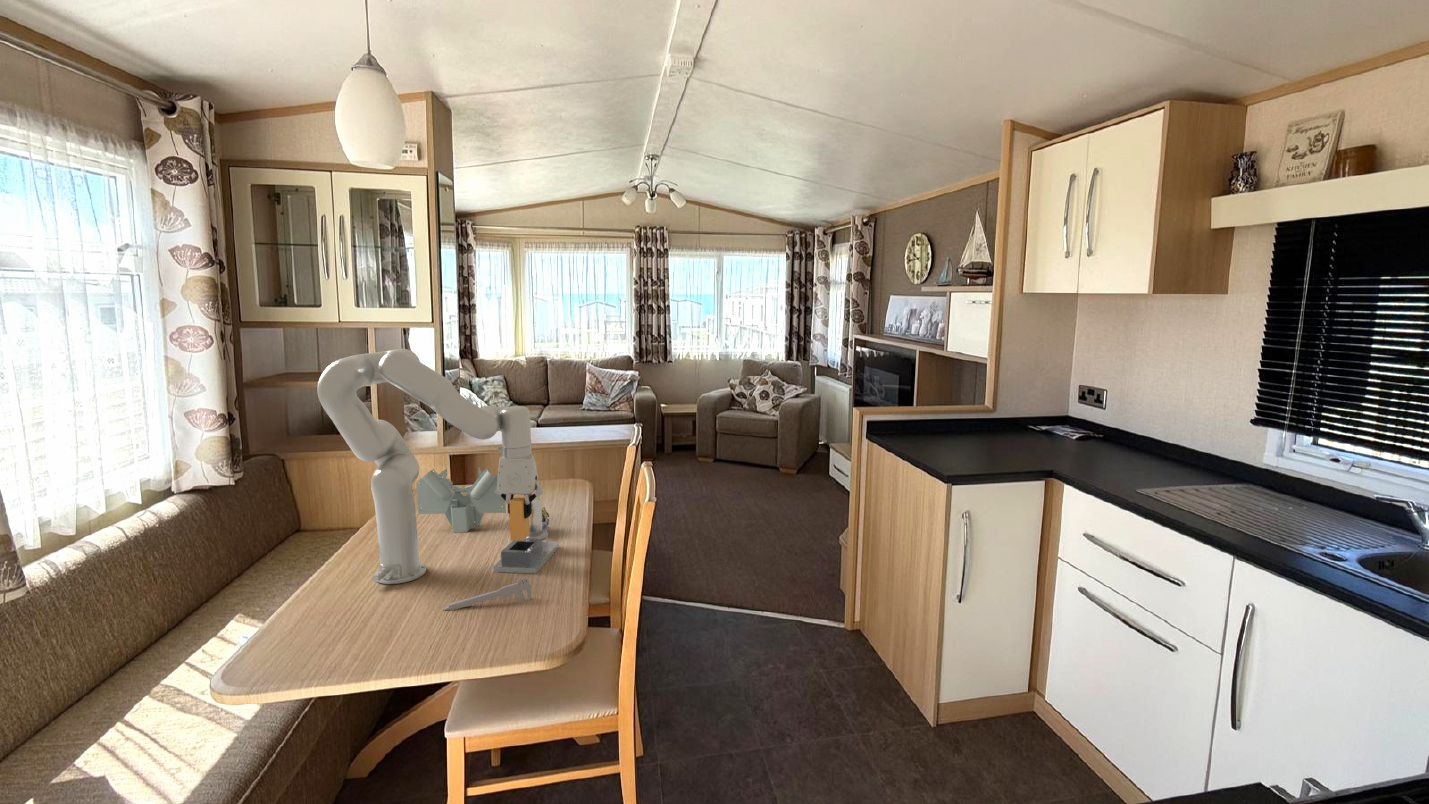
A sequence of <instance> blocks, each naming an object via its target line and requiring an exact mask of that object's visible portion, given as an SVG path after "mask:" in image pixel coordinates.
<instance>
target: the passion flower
mask: <svg viewBox="0 0 1429 804" xmlns="http://www.w3.org/2000/svg"><path fill="white" fill-rule="evenodd" d="M549 524H550V514H549V512H548V511H547V510H546V507H545V506H544V507H542V529H543V530H546V531H547V529H548V528H550V525H549Z"/></svg>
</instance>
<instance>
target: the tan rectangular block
mask: <svg viewBox="0 0 1429 804" xmlns="http://www.w3.org/2000/svg"><path fill="white" fill-rule="evenodd" d="M524 504H525V499H524V495H523V496H522V495H521V496H518V495H517V496H514V498H513V499H512V500H510V515H509V528H510V529H509V532H510V535H509V536H510V541H513V540H520V541H523V540H524V539H526V538H527V537H528V536H529V535H530V525H529V517H528V518H524Z"/></svg>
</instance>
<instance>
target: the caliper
mask: <svg viewBox="0 0 1429 804" xmlns="http://www.w3.org/2000/svg"><path fill="white" fill-rule="evenodd" d="M518 580H519V581H518V582H517V581H516V582H514V583H511V584H508V585H505V586H504V585H503V586H500V587H499V589H496V590H492V591H489V592H485V593H482V594H479V595H475V596H472V597H468V598H464V599H461V600H458V601H455V602H451V603H449V604H448V606H445V607H444V608H443V612H444V611H448V610H449V611H451V610H452V611H453V610H458V609H461V608H465V607H469V606H472V605H475V604H479V603H482V602H486V601H488V600H489V601H490V600H493V599H497V598H499V597H502V599H503V600H504V599H506V598H509V597H512V596H513V595H514V594H516V595H517V597H518V598H519V599H520V601H522V602H524V601H525V597H524V594H523V591H522V590H526V591H525V592H526V593H527V596H528V600H529V601H530V600H532V585H531V583H530V581H529V579H526V577H525V576H523V579H522V578H521V577H519V578H518Z"/></svg>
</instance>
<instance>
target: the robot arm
mask: <svg viewBox="0 0 1429 804" xmlns="http://www.w3.org/2000/svg"><path fill="white" fill-rule="evenodd" d="M386 383H389V384H391V385H393V386H394V387H396V388H398V389H399V390H400V391H402V392H404V393H406V394H407V395H410V396H411V397H413V398H414V399H416V400H418V401H419V402H421V403H422V404H425V405H426V406H427V407H429V408H430V409H432V411H433V412H434V413H436V414H437V415H438V416H439V417H441V418H442V419H444V420H445V421H446V422H447V423H449V424H450V425H451V426H453V427H455V428H457V429H458V430H459V431H461V432H463V433H466V434H467V435H469V436H471V437H473V438H475V439H477V440H481V441H482V440H488V439H491V438H493V437H494V436H495V435H496V434H497V432H501V442H502V443H501V444H502V445H501V446H499V447H497V452H498V453H501V455H502V456H500V457H499V459H498V460H499V461H498V467H497V468H498V469H497V476H498V486H497V488H496V489H495V493H496V494H498V495H500V496H501V497H502V498H503V499H504V500H505V504H507V514H508V515H509V516H510V500H512V499H513V498H515V495H523V496H524V499H525V504H524V518H528V517H529V516H530V515H531V513H532V504H531V502H532V501H533V500H534V499H535V498H538V497H540V496H541V495H542V494H544V490H543V488H542V487H541V485H540V483H539V474H538V468H537V462H536V459H535V456H534V455H532V454H533V453H532V437H531V436H532V435H531V433H532V432H531V414H530V413H531V411H530V409H529V408H528V407H526V406H524V405H523V406H522V405H512V406H495V405H483V406H480V407H479V406H478V405H476V404H475V403H472V402H471V401H470V400H468V399H467V398H465V397H464V396H463V395H462V394H460V392H458V390H456V388H455V386H454V385H453V384H452V381H450V380H449V379H448V378H447V377H446V376H444V375H442V374H441V373H438V372H437V371H436V370H434V369H432V368H430V367H429V366H428V365H426V364H424V363H422V362H421V361H420V359H419V356H418V355H417V354H416V353H415V352H413V351H412V350H409V349H406V348H396V349H391V350H390V349H389V350H384V351H376V352H375V351H374V352H368V353H367V352H366V353H361V354H360V353H359V354H354V355H351V356H347V357H343V358H340V359H337V360H335V361H333V362H331V363H330V364H329V365H328V366H326V368H325V369H324V370H323V372H322V373H321V375H320V377H319V379H318V382H317V388H316V389H317V397H318V400H319V403H320V404H321V407H322V408H323V410H324V411H325V413H326V415H328V417H329V418H330V420H331V421H332V423H333V425H334V426H335V428H336V429H337V431H338V432H339V434H340V435H341V437H342V438H343V440H344V441H345V443H346V445H348V447H349V449H350V450H351V451H352V453H353V454H354V456H355V457H357V459H359V460H360V461H362V462H366V463H367V462H368V463H372V462H374V463H375V464H376V466H377V467H376V469H375V470H374V471H373V474H372V476H371V480H370V488H371V494H372V499H373V504H374V510H375V521H376V528H377V529H376V532H377V542H378V554H379V564H380V565H378V568H379V569H378V570H377V571H376V572H375V573H374V574H373V575H372V576H371V581H372V582H373V583H379V584H382V585H383V584H384V585H398V584H404V583H407V582H410V581H411V582H412V581H414V580H416V579H419V578H421V577H423V576H424V574H426V572H427V566H426V564H424V563H423V562H421V561H420V551H419V538H418V526H417V524H418V523H417V514H416V512H417V511H416V504H415V498H414V494H413V484H414V483H415V482H416V480H417V478H418V477H419V474H420V465H419V462H418V459H417V458H416V456H415V454H414V453H413V452H412V450H411V448H410V447H409V445H407V442H406V441H405V440H404V438H403V436H402V435H401V433H400V432H399V431H398V429H397V428H396V427H395V426H394V425H393V424H392V423H390V422H389V421H387V420H383V419H378V418H377V419H375V418H374V416H373V415H372V413H371V411H370V410H369V409H368V407H367V406H366V404H365V403H364V402H363V401H362V400H361V399H360V398H359V397H358V394H357V391H358V389H359V390H360V389H361V388H364V387H366V386H372V385H377V384H379V385H380V384H386Z"/></svg>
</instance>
